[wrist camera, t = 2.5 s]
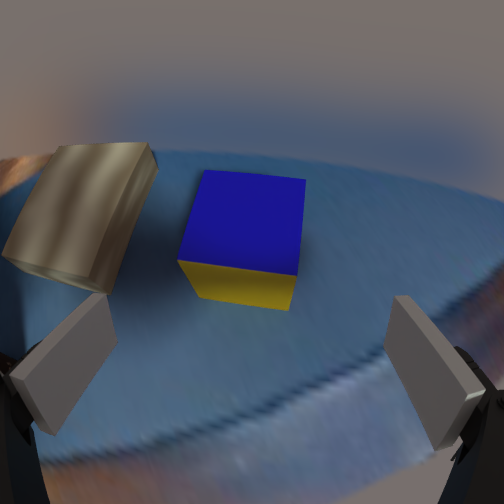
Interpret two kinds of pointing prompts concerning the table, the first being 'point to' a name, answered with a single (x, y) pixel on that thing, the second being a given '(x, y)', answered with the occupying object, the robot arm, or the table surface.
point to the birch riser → (83, 214)
